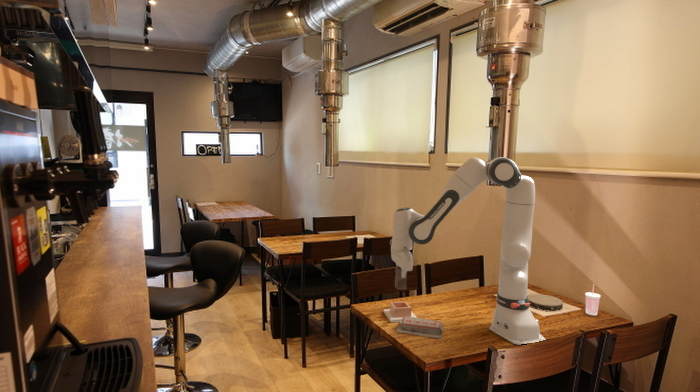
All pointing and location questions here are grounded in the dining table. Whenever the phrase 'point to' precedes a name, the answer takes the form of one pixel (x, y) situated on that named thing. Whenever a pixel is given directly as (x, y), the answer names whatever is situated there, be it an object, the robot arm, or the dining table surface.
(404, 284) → the peg
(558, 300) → the grey round disc
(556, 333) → the dining table surface
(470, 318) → the dining table surface
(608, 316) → the dining table surface
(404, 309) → the square socket base
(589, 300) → the beverage cup
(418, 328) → the packaged product
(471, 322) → the dining table surface
